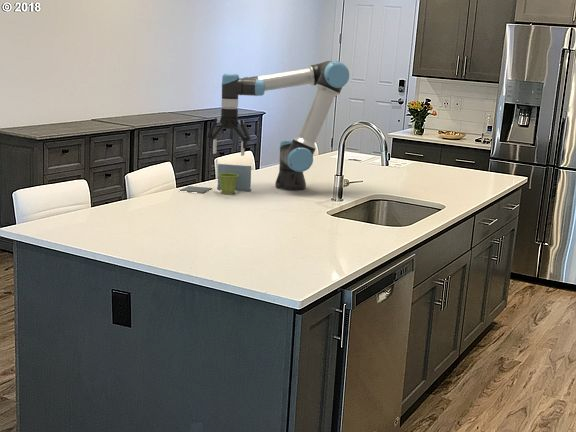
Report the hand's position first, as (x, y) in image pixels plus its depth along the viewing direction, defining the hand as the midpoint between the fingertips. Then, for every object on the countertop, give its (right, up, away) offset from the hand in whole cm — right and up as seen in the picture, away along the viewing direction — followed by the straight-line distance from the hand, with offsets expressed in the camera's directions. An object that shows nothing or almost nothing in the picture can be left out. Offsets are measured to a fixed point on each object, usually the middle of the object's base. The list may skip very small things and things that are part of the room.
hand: (228, 154), depth 355 cm
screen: (+2, -16, +12) cm, 20 cm away
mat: (-16, -16, +8) cm, 24 cm away
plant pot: (0, -18, +4) cm, 18 cm away
